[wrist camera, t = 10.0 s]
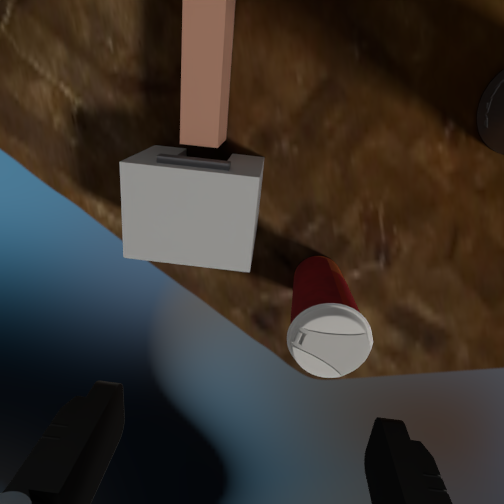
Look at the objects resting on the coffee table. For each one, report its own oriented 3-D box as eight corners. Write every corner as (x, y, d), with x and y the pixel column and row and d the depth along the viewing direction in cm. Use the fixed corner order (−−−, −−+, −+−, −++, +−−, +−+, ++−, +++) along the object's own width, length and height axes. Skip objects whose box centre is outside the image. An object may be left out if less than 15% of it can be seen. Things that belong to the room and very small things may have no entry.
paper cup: (276, 292, 48) (275, 367, 35) (298, 238, 45) (305, 299, 32) (335, 311, 48) (354, 392, 36) (361, 259, 45) (392, 327, 33)
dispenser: (265, 151, 41) (260, 170, 32) (256, 234, 45) (249, 272, 36) (154, 139, 42) (119, 154, 32) (155, 222, 45) (123, 257, 36)
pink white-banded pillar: (239, -52, 34) (230, -78, 29) (226, 139, 41) (217, 148, 35) (199, -56, 34) (184, -83, 29) (193, 136, 41) (179, 144, 35)
